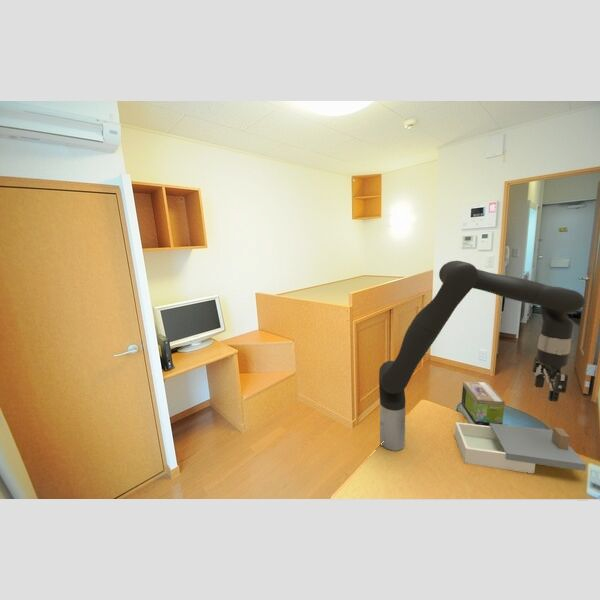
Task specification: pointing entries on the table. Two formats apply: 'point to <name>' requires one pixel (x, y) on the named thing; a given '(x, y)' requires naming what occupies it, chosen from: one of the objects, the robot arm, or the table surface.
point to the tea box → (481, 404)
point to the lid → (538, 446)
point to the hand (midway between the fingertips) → (545, 393)
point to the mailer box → (485, 448)
